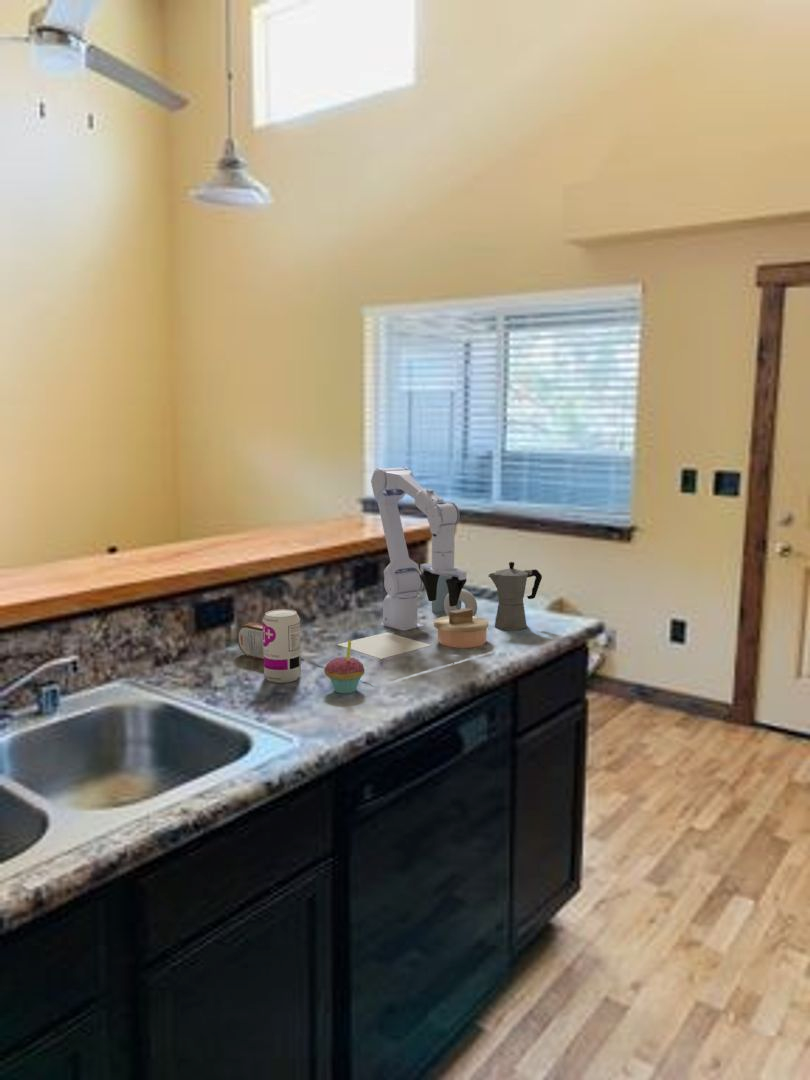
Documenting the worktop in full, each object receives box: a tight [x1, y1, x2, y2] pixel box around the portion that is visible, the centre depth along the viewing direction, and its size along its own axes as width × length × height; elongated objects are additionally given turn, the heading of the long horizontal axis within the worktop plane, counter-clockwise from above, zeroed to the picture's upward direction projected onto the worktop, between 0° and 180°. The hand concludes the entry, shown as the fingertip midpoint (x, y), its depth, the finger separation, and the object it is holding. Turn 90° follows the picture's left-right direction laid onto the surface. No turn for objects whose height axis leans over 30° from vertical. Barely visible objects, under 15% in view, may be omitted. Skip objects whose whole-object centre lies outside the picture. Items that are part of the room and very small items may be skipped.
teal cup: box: [431, 575, 464, 615], centre depth 254 cm, size 10×10×12 cm
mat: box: [337, 631, 432, 660], centre depth 217 cm, size 17×17×1 cm
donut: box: [444, 588, 478, 617], centre depth 239 cm, size 10×4×10 cm, turn 61°
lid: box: [433, 607, 489, 632], centre depth 219 cm, size 14×14×4 cm
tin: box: [236, 621, 264, 661], centre depth 207 cm, size 15×3×8 cm, turn 54°
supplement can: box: [262, 609, 302, 684], centre depth 191 cm, size 8×8×15 cm
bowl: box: [437, 628, 487, 649], centre depth 220 cm, size 12×12×5 cm
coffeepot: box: [487, 561, 543, 631], centre depth 236 cm, size 15×9×18 cm, turn 103°
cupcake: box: [323, 637, 365, 694], centre depth 183 cm, size 9×8×12 cm
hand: (442, 603), depth 220 cm, fingers open, 7 cm apart
